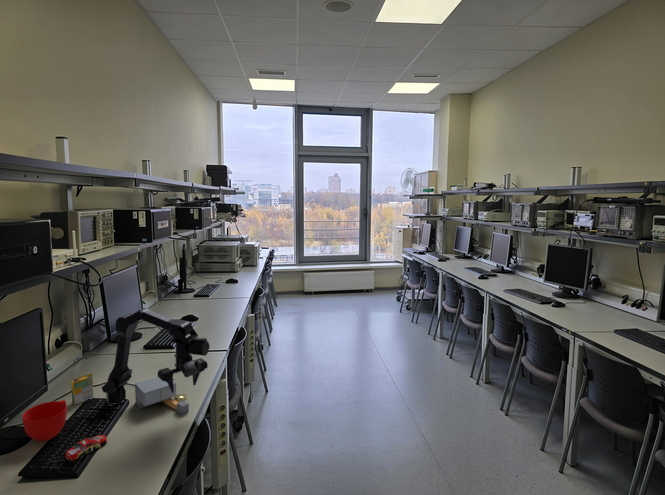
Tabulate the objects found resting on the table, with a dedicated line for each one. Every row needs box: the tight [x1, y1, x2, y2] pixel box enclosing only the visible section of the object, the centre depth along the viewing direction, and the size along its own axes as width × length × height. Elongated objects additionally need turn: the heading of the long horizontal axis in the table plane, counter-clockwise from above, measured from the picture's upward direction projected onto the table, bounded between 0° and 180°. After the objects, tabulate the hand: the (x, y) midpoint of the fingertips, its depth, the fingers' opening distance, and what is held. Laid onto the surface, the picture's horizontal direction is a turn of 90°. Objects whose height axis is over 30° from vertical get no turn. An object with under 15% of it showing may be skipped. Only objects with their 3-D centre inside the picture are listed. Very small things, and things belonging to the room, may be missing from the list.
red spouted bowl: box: [21, 399, 68, 443], centre depth 140 cm, size 13×17×10 cm
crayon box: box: [70, 373, 94, 406], centre depth 163 cm, size 7×3×12 cm, turn 141°
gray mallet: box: [162, 397, 190, 415], centre depth 161 cm, size 3×15×4 cm, turn 56°
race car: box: [64, 434, 108, 462], centre depth 132 cm, size 13×5×4 cm, turn 153°
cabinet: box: [134, 376, 177, 409], centre depth 163 cm, size 13×11×9 cm
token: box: [173, 393, 187, 402], centre depth 168 cm, size 5×5×1 cm
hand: (183, 388), depth 157 cm, fingers open, 9 cm apart
